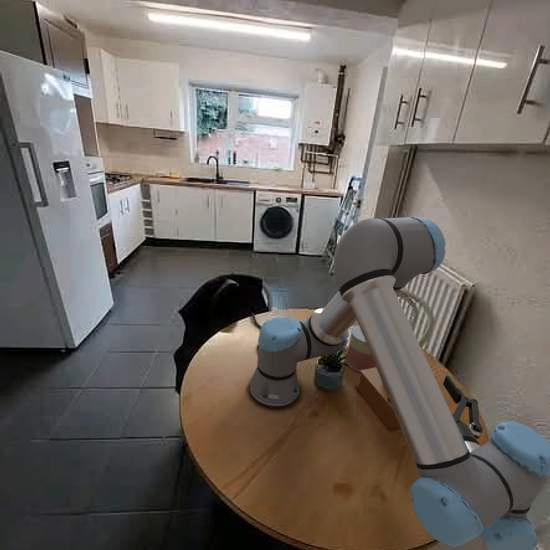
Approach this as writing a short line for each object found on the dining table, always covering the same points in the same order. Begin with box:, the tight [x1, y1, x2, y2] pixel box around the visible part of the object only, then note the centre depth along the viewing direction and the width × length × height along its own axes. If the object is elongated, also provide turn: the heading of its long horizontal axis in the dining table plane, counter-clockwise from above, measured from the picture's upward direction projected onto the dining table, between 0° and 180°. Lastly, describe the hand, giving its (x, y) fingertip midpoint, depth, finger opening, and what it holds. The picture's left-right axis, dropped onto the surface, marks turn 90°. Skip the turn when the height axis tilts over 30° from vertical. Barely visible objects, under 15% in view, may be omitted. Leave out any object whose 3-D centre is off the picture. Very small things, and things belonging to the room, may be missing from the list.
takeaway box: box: [357, 367, 401, 430], centre depth 93 cm, size 17×17×7 cm
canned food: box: [345, 325, 376, 373], centre depth 109 cm, size 11×11×12 cm
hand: (419, 377), depth 79 cm, fingers open, 13 cm apart
